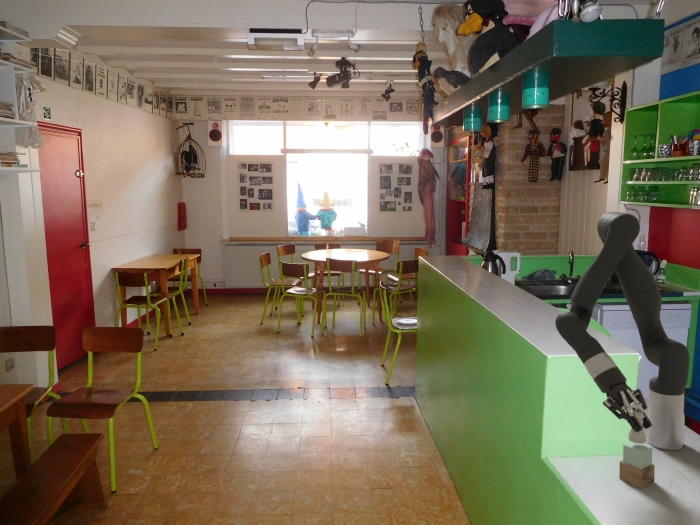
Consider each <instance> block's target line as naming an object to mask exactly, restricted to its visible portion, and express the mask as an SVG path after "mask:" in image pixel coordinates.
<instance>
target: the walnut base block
mask: <svg viewBox="0 0 700 525" xmlns="http://www.w3.org/2000/svg"><path fill="white" fill-rule="evenodd" d="M655 469H656V466H655V464H654V463H652V465H650V466H648V467H646V468H644V469H641V470H640V469H638V468H636V467H633V466H631V465H629V464H627V463H624V462H623V459H622V460H620V461H619V475H618V476H619V479H620V480H621V481H623V482H626V483H628V484H630V485H632V486H633V487H635V488H637V489H640V488H641V489H642V488H645V487H647V486H649V485H651V484H654V483H655ZM653 482H654V483H653Z"/></svg>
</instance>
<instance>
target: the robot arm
mask: <svg viewBox="0 0 700 525" xmlns="http://www.w3.org/2000/svg"><path fill="white" fill-rule="evenodd" d="M596 231H597V233H598V234H597V235H598V237H599V239H600V240H601V242H602V244H603V247H602V248H601V250H600V252H599V254H598V255H597V256H596V258H595V259H594V260H593V262H592V263H591V264H590V265H589V266H588V267H587V268H586V270H585V271H584V272H583V273H582V275H581V276H580V278H579V280H578V281H577V283H576V285H575V288H574V289H573V292H572V294H571V296H570V301H571V305H570V306H571V307H570V309H569V311H563V312H561V313H559V314H558V315H557V316H556V318H555V322H554V324H555V328H556V331H557V332H558V334H559V335H560V336H561V337H562V339H563V340H564V341H565V342H566V343H567V344H568V346H569V347H571V349H572V350H573V351H574V352H575V353H576V355H577V356H578V358H579V359H580V361H581V362H582V364H583V366H584V367H585V368H586V371H587V373H588V375H589V376H590V378H591V379H592V380H593V382H594V383H595V385H596V386H597V387H598V389H599V391H600V392H601V393H602V394H605V395H606V399H605V400H603V401H602V405H603V406H604V407H605V408H606V409H607V410H609V411H610V412H611V413H612V414H613V415H614V416H615V417H616V418H617V419H618V420H624V421H626V422H627V423H628V425H630V427H631V428H632V429H633V430H634V431H635V432H639V431H641V430H642V429H643V430H644V429H645V430H646V429H647V441H648V443H649V444H650V446H652V447H655V448H658V449H661V450H665V451H666V450H667V451H677V450H678V451H679V450H681V449H682V448H684V447H683V445H684V444H685V416H686V415H685V414H684V411H685V409H684V408H685V387H686V386H687V384H688V381H689V371H690V353H689V352H690V351H689V349H688V347H687V346H686V345H685V344H684V343H682V342H681V341H677V340H674V339H672V338H670V337H668V335H667V333H666V331H665V329H664V325H663V324H662V321H661V311H662V306H663V304H662V303H663V300H662V294H661V291H660V288H659V286H658V283H657V281H656V279H655V276H654V274H653V273H652V272H651V270H650V269H649V267H648V266H647V265H646V264H645V263H644V261H643V260H642V259H641V257H640V256H639V255H638V253H637V252H636V249H635V247H634V245H633V244H634V242H635V241H636V239H637V237H638V236H639V234H640V231H641V224H640V221H639V219H638V217H637V216H635V215H633V214H630V213H627V212H626V213H625V212H620V211H619V212H617V211H609V212H606V213H604V214H602V215H601V216H600V217H599V219H598V221H597V225H596ZM614 271H615V273H616V275H617V276H616V277H617V279H618V281H619V284H620V287H621V289H622V292H623V296H624V297H625V300H626V303H627V305H628V307H629V310H630V312H631V315H632V318H633V320H634V324H635V325H636V328H637V330H638V336H639V338H640V342H641V347H642V350H643V353H644V355H645V358H646V359H647V361H649V363H650V364H652V365H654V366H657V367H658V372H657V373H658V374H657V376H653V377H651V378H650V379H649V381H648V383H649V384H648V405H647V403H646V401H645V400H646V399H645V398H644V395H643V393H642V390H641V389H640V388H637V389H636V390H635V389H632V388H631V387H630V386H628V384H627V382H628V381H627V380H628V379H627V378H626V376H625V375H624V373H623V372H622V371H621V370H620V368H619V366H618V365H617V364H616V362H615V361H614V359H612V357H611V356H610V355H609V354H608V353H607V352H606V350H605V349H604V347H603V346H602V345H601V343H600V342H599V341H598V340H597V339H596V338H595V337H594V336H592V335H591V334H590V333H589V332H588V331H587V329H588V328H589V325H590V322H591V319H592V315H593V313H594V308H595V306H596V304H597V302H598V300H599V298H600V296H601V294H602V292H603V290H604V288H605V286H606V284H607V282H608V281H609V279H610V277H611V275H612V274H613V272H614ZM647 409H648V416H647V414H646V413H645V411H646V410H647ZM635 410H637V412H638V410H639V411H640V413H641V412H643V415H644V416H645V417H644V418H643V428H642V426H641V425H640V423H639V422H638V420H637V419H636V418H635V416H633V414H632V413H633V411H635Z"/></svg>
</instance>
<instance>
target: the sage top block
mask: <svg viewBox="0 0 700 525" xmlns="http://www.w3.org/2000/svg"><path fill="white" fill-rule="evenodd" d="M622 448H623V451H622V455H623V457H622V460H623V462H624V463H627V464H629V465H631V466H633V467H636V468H638V469H640V470H641V469H644V468H646V467H648V466H650V465H652V464H653V445H649V444H646V443H642V444H638V443H634V442H631V441H628V442H627V443H624V444H623V447H622Z"/></svg>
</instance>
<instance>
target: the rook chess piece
mask: <svg viewBox="0 0 700 525" xmlns="http://www.w3.org/2000/svg"><path fill="white" fill-rule="evenodd" d="M632 414H633V416H635V418H636V419H637V420H638V422H639V423H640V425H641V426H642V428H643V429H642V430H641V431H639V432H635V431H634V430H633V429H632V427H631V429H630V430H629V431H628V433H627V435H628V436H627V438H628V440H629V442H634V443H638V444H642V443H644V444H646V442H647V441H648V439H647V436H646V433H645V430H644V427H643V418H644V417H645V416H644V415H643V412H641V413H640V411H639V410H638V412H637V409H636V410H635V411H632Z"/></svg>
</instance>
